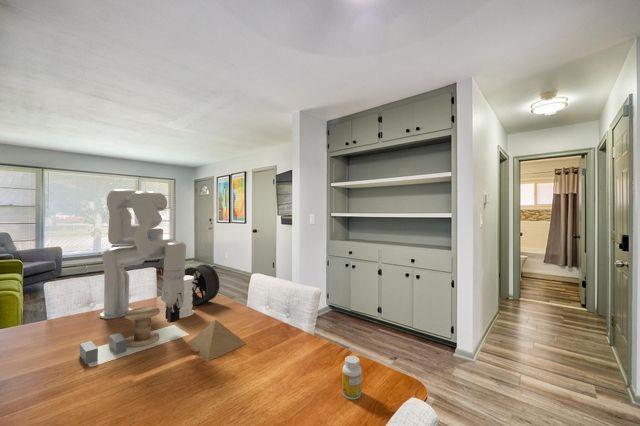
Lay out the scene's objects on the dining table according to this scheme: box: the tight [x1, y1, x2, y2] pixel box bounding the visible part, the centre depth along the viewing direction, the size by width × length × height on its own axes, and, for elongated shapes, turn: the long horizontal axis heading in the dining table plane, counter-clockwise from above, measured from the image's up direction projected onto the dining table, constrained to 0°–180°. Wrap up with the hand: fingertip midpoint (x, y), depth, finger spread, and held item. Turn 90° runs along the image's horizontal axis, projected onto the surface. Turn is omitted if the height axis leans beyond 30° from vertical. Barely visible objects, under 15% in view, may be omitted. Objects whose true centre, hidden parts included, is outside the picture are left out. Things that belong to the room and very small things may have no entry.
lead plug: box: [166, 302, 177, 324], centre depth 111 cm, size 4×4×7 cm
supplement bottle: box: [341, 355, 363, 400], centre depth 79 cm, size 5×5×10 cm
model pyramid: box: [187, 319, 247, 362], centre depth 105 cm, size 17×17×10 cm
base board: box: [87, 324, 190, 368], centre depth 103 cm, size 14×31×1 cm, turn 141°
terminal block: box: [79, 332, 127, 365], centre depth 95 cm, size 8×11×4 cm
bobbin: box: [124, 306, 161, 348], centre depth 105 cm, size 11×11×11 cm
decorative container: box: [179, 275, 195, 319], centre depth 133 cm, size 12×12×18 cm
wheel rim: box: [185, 263, 220, 306], centre depth 152 cm, size 20×9×20 cm, turn 67°
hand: (172, 319), depth 111 cm, fingers closed on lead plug, 3 cm apart
